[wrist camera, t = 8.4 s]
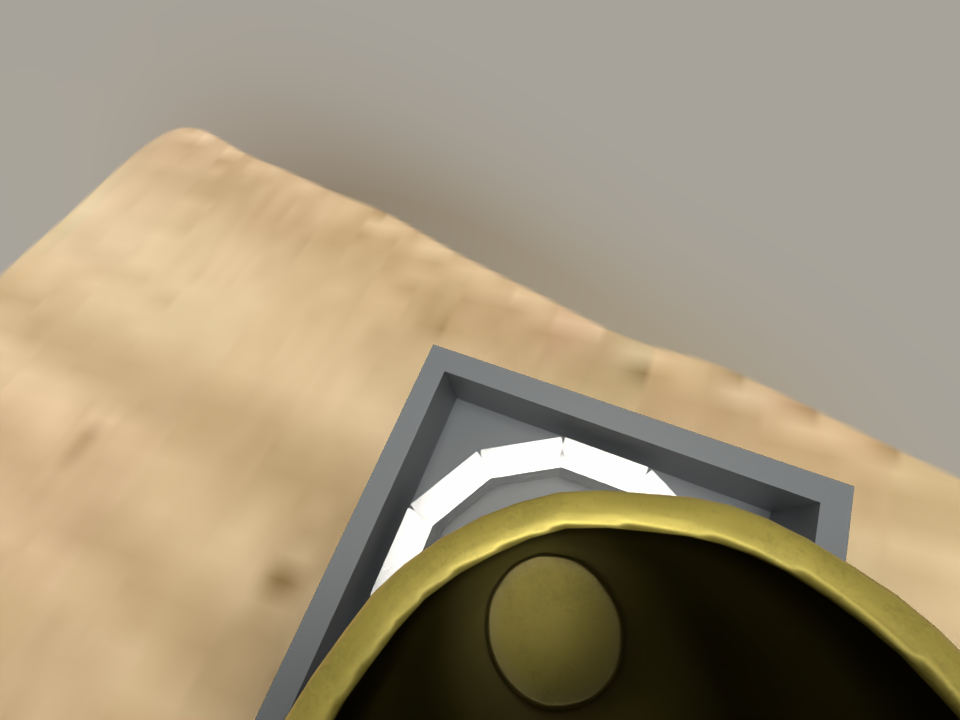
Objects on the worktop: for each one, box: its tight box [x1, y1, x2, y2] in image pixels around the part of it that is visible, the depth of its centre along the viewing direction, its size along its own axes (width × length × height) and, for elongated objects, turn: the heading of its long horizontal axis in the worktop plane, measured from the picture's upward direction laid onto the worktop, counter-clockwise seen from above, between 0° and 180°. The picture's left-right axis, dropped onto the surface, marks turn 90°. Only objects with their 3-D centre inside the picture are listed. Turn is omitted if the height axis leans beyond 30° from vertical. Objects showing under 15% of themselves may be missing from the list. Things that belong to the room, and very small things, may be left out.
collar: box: [370, 437, 676, 595], centre depth 15 cm, size 11×11×2 cm
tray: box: [255, 345, 854, 720], centre depth 15 cm, size 14×14×4 cm
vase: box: [285, 490, 960, 720], centre depth 9 cm, size 6×6×14 cm
